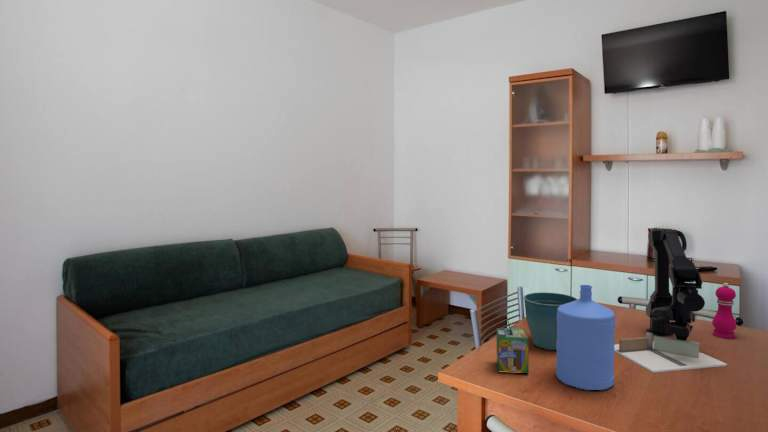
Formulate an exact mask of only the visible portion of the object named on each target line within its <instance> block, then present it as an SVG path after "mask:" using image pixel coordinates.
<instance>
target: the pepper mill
mask: <svg viewBox="0 0 768 432" xmlns="http://www.w3.org/2000/svg"><path fill="white" fill-rule="evenodd" d="M715 296H716V298H717V299H716V304H717V306H718V307H717V310H716V313H715V315H714V316H713V318H712V321H711V324H712V326H713V328H714V329H713V333H712V334H713V335H714V337H717V338H720V339H726V340H727V339H729V340H730V339H734V338H735V332H734V331H735V330H736V329H737V327H738V326H737V321H736V319H735V316H734V315H733V310H732V309H733V306H734V305H735V304H734V303H735V302H734V299H735V298H736V296H737V294H736V290H734V289H733V288H732V287H730V285H729V283H728V282H724V283H723V284H722V286H720V287H717V289H716V290H715Z"/></svg>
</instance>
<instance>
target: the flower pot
mask: <svg viewBox="0 0 768 432" xmlns="http://www.w3.org/2000/svg"><path fill="white" fill-rule="evenodd" d="M523 300H524V308H525V309H524V311H525V319H526V323H527V326H528V329H529V330H528V331H529V332H530V336H531V338H532V344H533V345H534V346H535V345H536V346H535V347H537V346H538V348H540V347H541V348H540V349H543V348H544V350H549V351H557V349H556V341H557V309H558V307H559V306H561V305H563V304H566V303H570V302H573V301H576V300H578V298H577V297H575V296H572V295H568V294H564V293H557V292H545V291H543V292H542V291H541V292H532V293H527V294H525V295H523Z"/></svg>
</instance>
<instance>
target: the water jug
mask: <svg viewBox="0 0 768 432" xmlns="http://www.w3.org/2000/svg"><path fill="white" fill-rule="evenodd" d="M579 287H580V290H579V299H577V300H576V301H573V302H570V303H566V304H563V305H561V306H559V307H558V309H557V341H556V349H557V350H556V367H555V374H556V378H557V379H558V381H560V380H561V381H560V382H561V383H563V384H565V385H567V386H569V385H570V386H569V387H571V386H573V387H572V388H574V387H576V388H575V389H578V388H579V390H582V389H584V390H585V391H590V390H599V391H604V390H605V391H606V390H608V389H609V388H611V387H613V386H614V383H615V375H614V363H615V362H614V361H615V353H616V352H615V347H614V345H615V333H616V331H615V329H616V314H615V312H614V311H613V310H612V309H610V308H608V307H606V306H604V305H602V304H601V303H598V302H596V301H594V300H593V298H592V294H593V292H592V288H593V286H592V285H588V284H580V285H579ZM584 390H583V391H584Z"/></svg>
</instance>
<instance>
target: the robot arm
mask: <svg viewBox="0 0 768 432" xmlns="http://www.w3.org/2000/svg"><path fill="white" fill-rule="evenodd" d="M679 236H680V235H679V231H678V230H676V229H671V228H652V229H651V231H648V234H647V239H648V241H649V245H650V247H651V249H652V250H653V251H654V291H653V292H652V293H651V295H650V297H649V301H648V303H647V305H646V307H645V315H646V316H647V317H648V318H649V328H646V331H647V332H649V333H653V335H655V336H670V335H675V339H680V340H687V341H688V337H689V336H690V334H691V332H692V330H693V328H694V325H690V324H692V323H695V321H696V314H695V312H699V311H701V310H703V309H704V307H705V304H706V301H705V299H704V297H703V296H702V295H701V294H699V289H700V290H701V289H702V288H703V286H702V285H703V281H702V277H701V273H700V272H699V269H698V268H697V267H696V265H695V264H694V261H692V260H691V259H690V258H688V257H687V256H686V253H685V251H684V248H683V245H682V243H681V241H680V237H679ZM670 284H671V286H672V288H671V289H672V290H671V291H672V292H670Z"/></svg>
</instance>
